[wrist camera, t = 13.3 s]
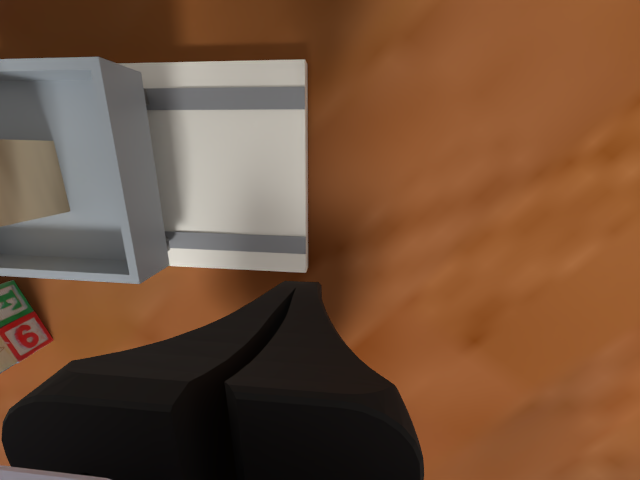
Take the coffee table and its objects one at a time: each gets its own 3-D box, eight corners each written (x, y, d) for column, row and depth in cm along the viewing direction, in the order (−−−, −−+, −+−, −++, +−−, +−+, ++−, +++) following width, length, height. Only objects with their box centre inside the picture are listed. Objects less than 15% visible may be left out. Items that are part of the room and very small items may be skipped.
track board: (308, 267, 22) (305, 273, 21) (34, 253, 24) (19, 258, 23) (307, 64, 18) (304, 58, 17) (-18, 70, 20) (-39, 66, 19)
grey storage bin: (184, 255, 21) (139, 283, 16) (30, 248, 22) (-51, 272, 18) (161, 79, 18) (98, 56, 13) (-18, 82, 19) (-131, 62, 14)
